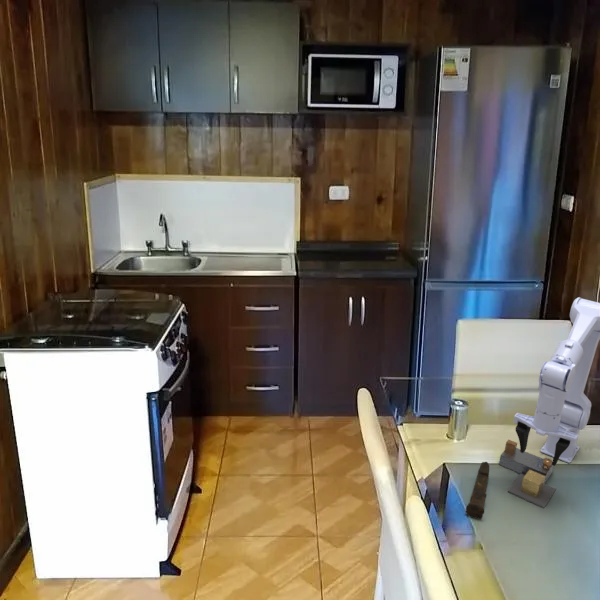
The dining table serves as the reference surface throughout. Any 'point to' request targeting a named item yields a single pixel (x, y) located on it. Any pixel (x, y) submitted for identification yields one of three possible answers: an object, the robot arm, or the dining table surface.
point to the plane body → (524, 461)
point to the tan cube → (533, 483)
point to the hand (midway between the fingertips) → (538, 457)
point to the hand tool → (479, 492)
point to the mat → (539, 501)
